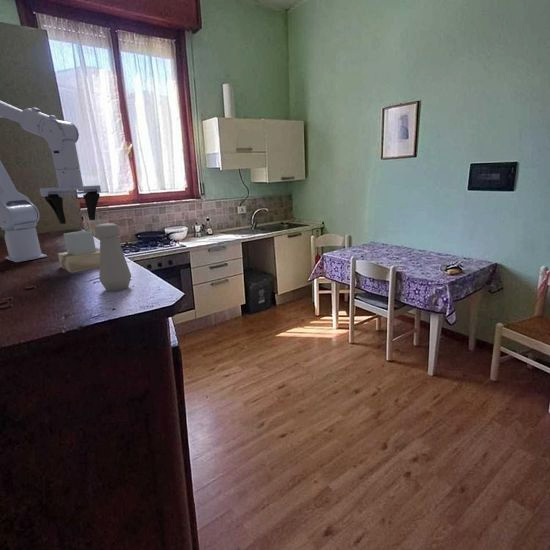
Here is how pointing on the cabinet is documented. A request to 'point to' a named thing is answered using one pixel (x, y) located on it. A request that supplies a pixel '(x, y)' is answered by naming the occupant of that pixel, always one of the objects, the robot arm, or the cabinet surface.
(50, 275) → the cabinet surface
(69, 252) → the blue-grey cube
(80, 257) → the birch block
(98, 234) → the salt shaker
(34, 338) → the cabinet surface
